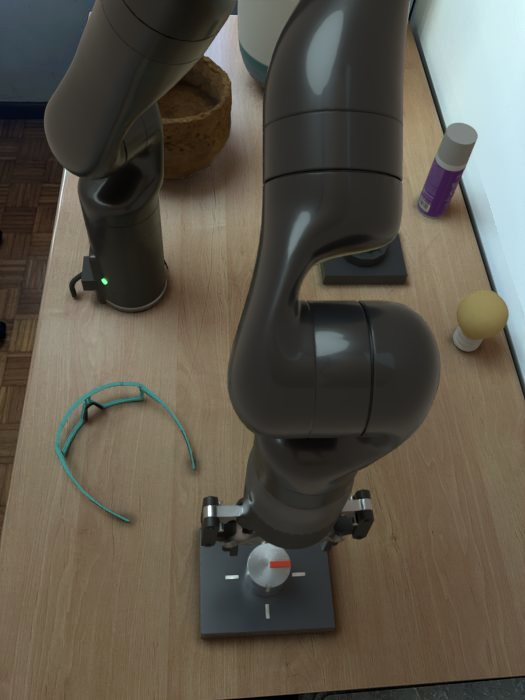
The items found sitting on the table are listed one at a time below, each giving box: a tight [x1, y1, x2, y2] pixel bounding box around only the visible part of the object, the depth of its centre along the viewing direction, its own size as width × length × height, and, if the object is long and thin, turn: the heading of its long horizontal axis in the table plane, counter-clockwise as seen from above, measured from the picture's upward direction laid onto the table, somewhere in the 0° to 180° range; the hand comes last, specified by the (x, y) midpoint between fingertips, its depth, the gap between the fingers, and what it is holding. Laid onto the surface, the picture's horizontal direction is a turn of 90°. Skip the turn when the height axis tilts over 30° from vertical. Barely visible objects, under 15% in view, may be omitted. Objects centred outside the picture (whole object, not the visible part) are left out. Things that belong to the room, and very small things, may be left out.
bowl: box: [157, 54, 233, 180], centre depth 100 cm, size 19×19×15 cm
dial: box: [245, 543, 291, 597], centre depth 69 cm, size 4×4×5 cm
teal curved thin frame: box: [54, 381, 196, 523], centre depth 79 cm, size 14×15×5 cm
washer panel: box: [199, 527, 336, 639], centre depth 73 cm, size 14×11×3 cm
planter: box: [237, 0, 299, 88], centre depth 110 cm, size 20×20×21 cm
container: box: [416, 122, 479, 220], centre depth 99 cm, size 5×5×15 cm
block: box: [319, 233, 408, 286], centre depth 97 cm, size 12×10×4 cm
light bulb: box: [452, 289, 510, 353], centre depth 88 cm, size 6×6×10 cm
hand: (278, 542), depth 62 cm, fingers open, 8 cm apart
